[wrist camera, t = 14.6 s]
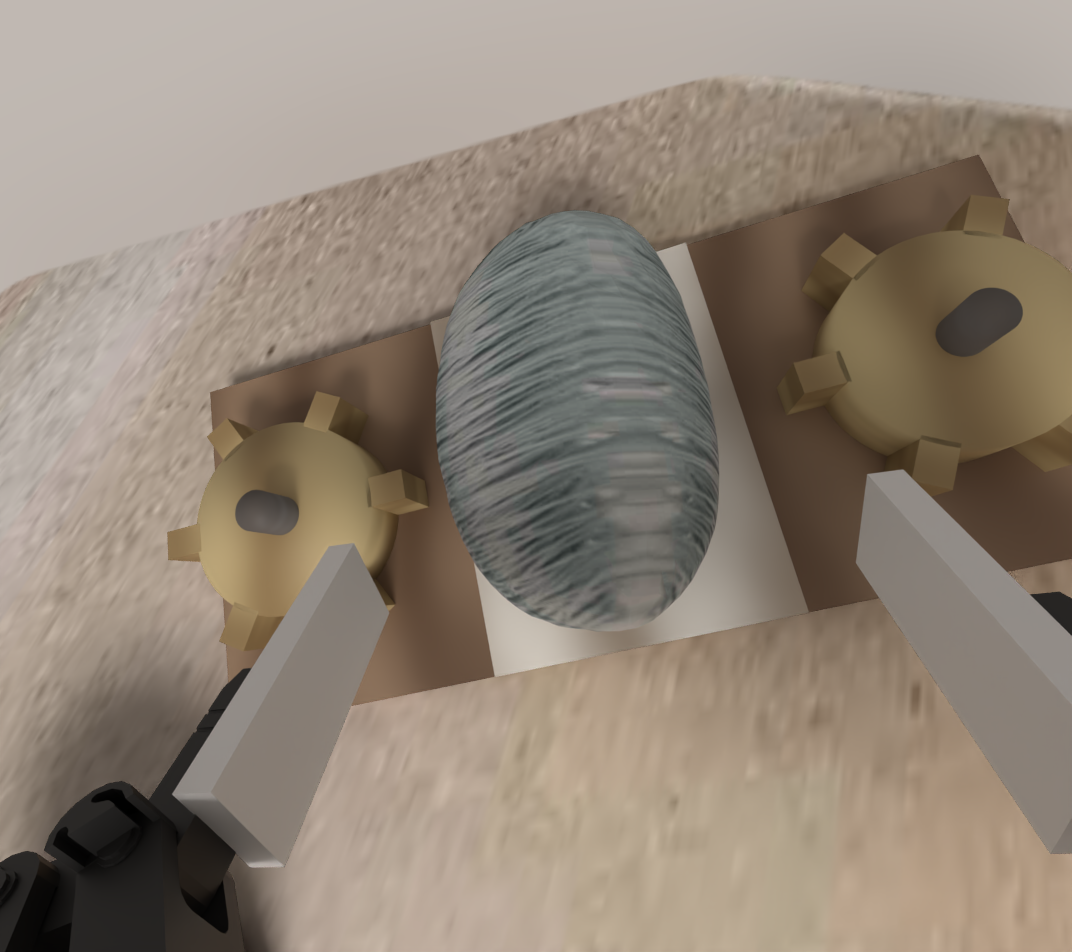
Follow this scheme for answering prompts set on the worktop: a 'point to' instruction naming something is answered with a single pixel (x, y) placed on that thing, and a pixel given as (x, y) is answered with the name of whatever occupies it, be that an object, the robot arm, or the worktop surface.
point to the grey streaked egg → (578, 425)
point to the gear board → (741, 426)
